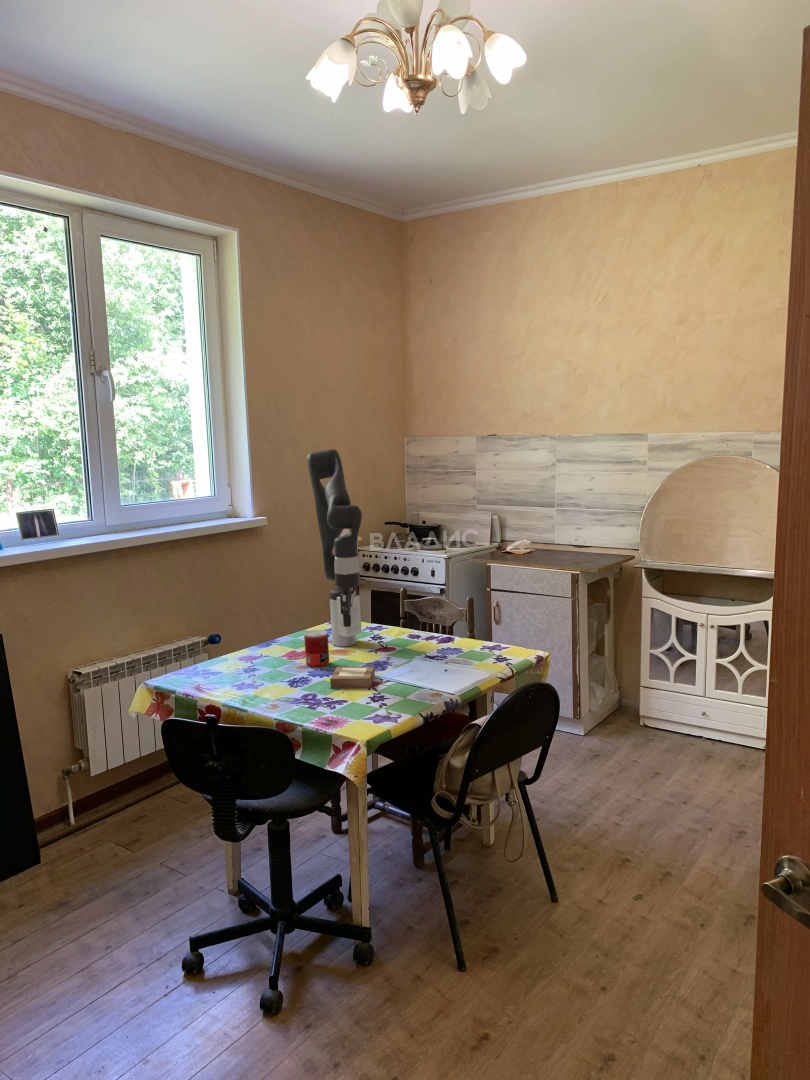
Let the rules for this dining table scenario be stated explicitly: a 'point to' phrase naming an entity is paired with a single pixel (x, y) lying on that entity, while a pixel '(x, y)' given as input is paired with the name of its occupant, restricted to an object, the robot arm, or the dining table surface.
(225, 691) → the dining table surface
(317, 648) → the canned food
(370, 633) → the dining table surface
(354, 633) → the skincare box
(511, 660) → the dining table surface
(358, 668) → the base slab
